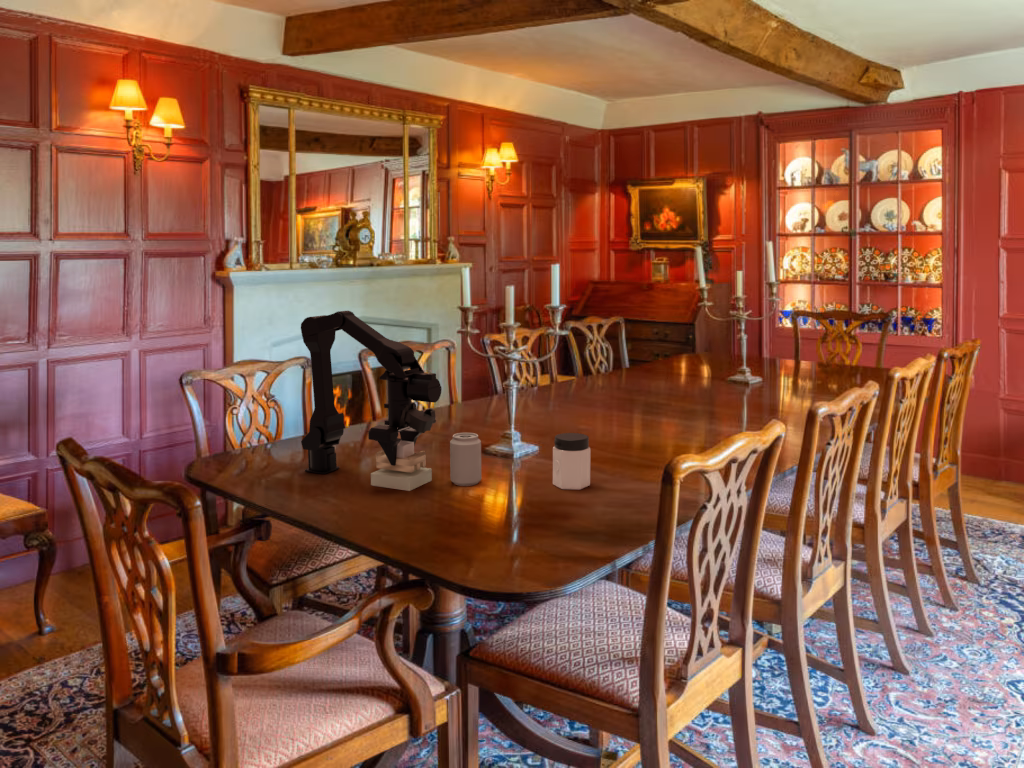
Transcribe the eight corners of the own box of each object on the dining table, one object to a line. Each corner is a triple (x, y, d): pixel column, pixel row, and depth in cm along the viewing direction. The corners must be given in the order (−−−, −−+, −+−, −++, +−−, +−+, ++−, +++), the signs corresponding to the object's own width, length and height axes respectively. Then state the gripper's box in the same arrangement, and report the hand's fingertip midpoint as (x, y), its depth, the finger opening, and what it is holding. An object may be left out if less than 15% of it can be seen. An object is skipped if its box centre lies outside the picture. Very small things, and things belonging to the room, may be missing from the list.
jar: (547, 482, 207) (547, 434, 205) (577, 478, 210) (577, 431, 208) (565, 492, 199) (565, 442, 197) (595, 487, 202) (595, 438, 200)
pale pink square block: (387, 456, 205) (387, 444, 204) (398, 452, 209) (398, 440, 208) (403, 458, 203) (403, 446, 202) (414, 454, 207) (413, 442, 206)
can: (481, 478, 211) (480, 431, 209) (481, 486, 204) (480, 437, 202) (451, 478, 211) (450, 431, 209) (450, 487, 203) (449, 438, 201)
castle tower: (376, 467, 206) (376, 452, 205) (391, 461, 211) (391, 446, 211) (411, 472, 201) (411, 457, 201) (425, 466, 207) (425, 451, 206)
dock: (371, 485, 205) (370, 473, 204) (394, 475, 214) (394, 463, 213) (409, 490, 200) (409, 478, 200) (431, 480, 209) (431, 468, 209)
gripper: (406, 408, 192) (408, 475, 194) (448, 395, 208) (449, 457, 211) (365, 404, 197) (367, 469, 199) (409, 392, 213) (411, 452, 216)
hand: (401, 462), depth 206 cm, fingers closed on castle tower, 6 cm apart
